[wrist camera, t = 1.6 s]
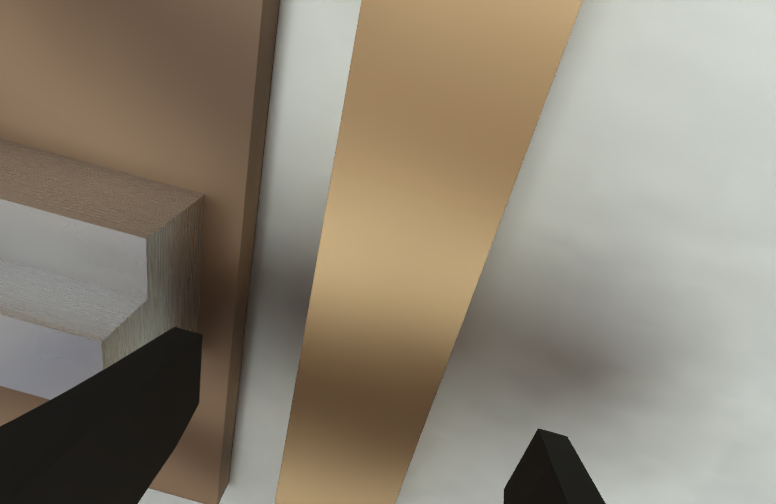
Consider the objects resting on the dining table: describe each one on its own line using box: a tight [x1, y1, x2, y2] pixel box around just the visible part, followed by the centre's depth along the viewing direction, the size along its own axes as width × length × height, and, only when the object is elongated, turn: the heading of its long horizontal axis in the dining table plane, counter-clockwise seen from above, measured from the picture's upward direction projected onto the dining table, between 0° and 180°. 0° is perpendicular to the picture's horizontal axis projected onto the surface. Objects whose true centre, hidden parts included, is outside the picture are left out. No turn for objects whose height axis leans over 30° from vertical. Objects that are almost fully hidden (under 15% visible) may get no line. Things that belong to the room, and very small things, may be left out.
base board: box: [0, 0, 280, 504], centre depth 14 cm, size 20×13×1 cm, turn 167°
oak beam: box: [275, 0, 583, 504], centre depth 12 cm, size 22×3×4 cm, turn 167°
